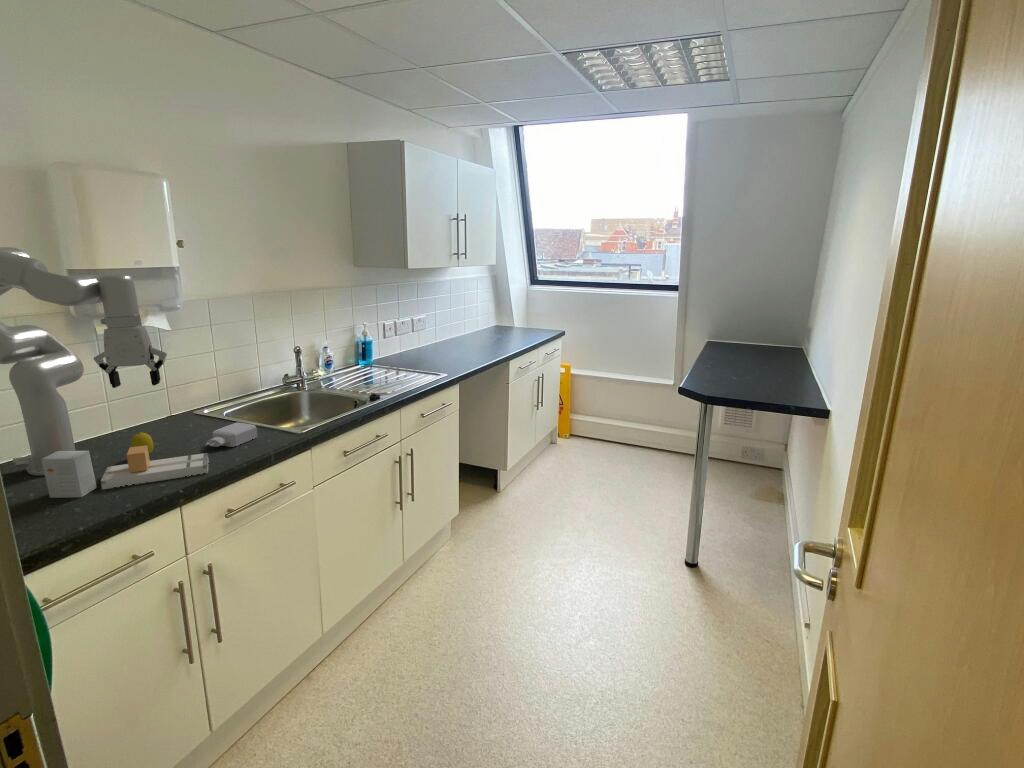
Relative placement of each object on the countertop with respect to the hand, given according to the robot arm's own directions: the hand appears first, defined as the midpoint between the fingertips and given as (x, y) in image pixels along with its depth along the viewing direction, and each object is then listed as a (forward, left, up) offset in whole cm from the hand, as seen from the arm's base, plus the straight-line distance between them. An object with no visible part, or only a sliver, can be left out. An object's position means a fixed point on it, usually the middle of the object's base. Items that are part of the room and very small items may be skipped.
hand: (136, 385), depth 149 cm
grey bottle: (+20, +13, -25) cm, 34 cm away
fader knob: (-1, -5, -23) cm, 23 cm away
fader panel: (+3, -5, -24) cm, 25 cm away
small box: (-16, -10, -25) cm, 31 cm away
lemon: (-2, +11, -25) cm, 27 cm away
